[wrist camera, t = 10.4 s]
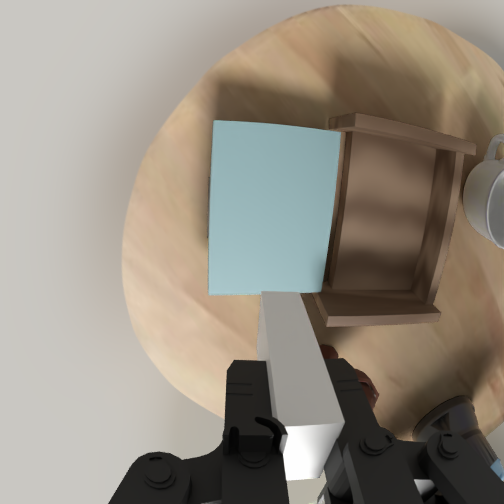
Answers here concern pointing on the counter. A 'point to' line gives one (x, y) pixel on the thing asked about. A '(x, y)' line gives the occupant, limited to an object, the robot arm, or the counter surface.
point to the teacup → (487, 195)
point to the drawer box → (391, 222)
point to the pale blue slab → (269, 207)
